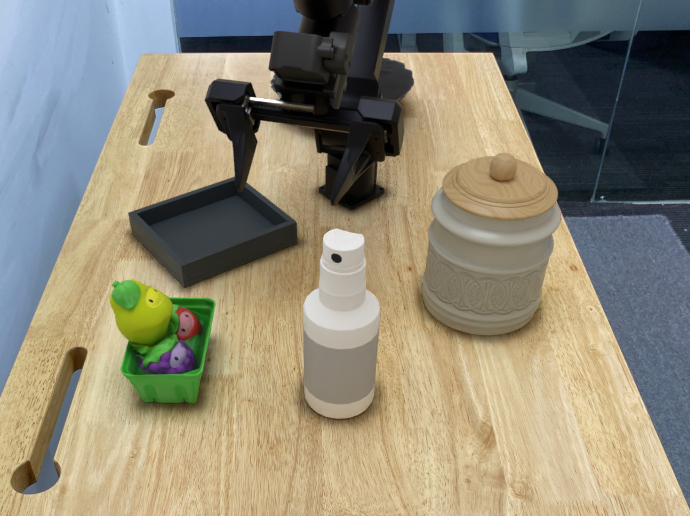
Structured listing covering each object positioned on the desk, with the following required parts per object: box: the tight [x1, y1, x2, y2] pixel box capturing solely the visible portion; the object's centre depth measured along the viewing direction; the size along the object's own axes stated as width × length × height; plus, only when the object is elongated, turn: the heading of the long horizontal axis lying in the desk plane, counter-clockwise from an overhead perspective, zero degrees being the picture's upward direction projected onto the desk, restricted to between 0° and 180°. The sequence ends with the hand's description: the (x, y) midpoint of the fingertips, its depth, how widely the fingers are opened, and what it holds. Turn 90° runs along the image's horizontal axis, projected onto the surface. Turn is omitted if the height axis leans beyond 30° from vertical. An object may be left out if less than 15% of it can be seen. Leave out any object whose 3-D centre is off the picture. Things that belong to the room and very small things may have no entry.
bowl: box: [269, 57, 415, 103], centre depth 118 cm, size 22×22×5 cm
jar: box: [421, 152, 562, 336], centre depth 80 cm, size 13×13×18 cm
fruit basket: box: [109, 279, 217, 404], centre depth 74 cm, size 11×9×11 cm
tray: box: [127, 176, 298, 288], centre depth 94 cm, size 16×14×3 cm
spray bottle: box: [302, 227, 381, 420], centre depth 69 cm, size 7×7×18 cm
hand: (284, 196), depth 72 cm, fingers open, 9 cm apart
